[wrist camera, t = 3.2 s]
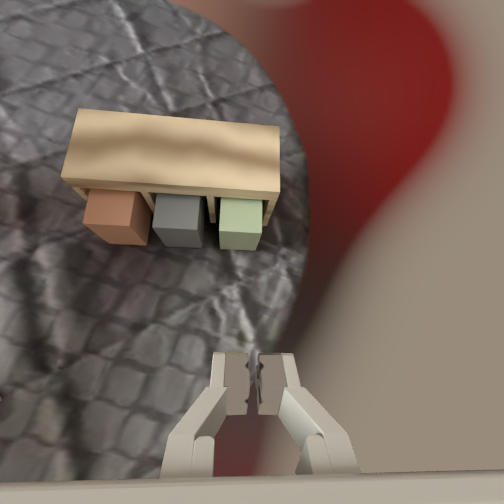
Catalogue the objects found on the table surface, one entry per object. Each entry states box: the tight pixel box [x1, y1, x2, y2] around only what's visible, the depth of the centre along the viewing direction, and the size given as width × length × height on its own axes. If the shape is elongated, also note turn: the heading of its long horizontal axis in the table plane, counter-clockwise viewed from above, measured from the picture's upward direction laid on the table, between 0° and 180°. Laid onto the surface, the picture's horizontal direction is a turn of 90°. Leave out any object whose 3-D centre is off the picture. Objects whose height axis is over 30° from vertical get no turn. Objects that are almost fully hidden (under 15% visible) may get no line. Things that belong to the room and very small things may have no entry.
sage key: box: [219, 197, 262, 251], centre depth 35 cm, size 7×5×7 cm
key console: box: [61, 109, 280, 226], centre depth 35 cm, size 9×23×10 cm, turn 89°
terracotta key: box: [82, 188, 152, 245], centre depth 34 cm, size 7×5×7 cm
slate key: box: [152, 193, 206, 248], centre depth 34 cm, size 7×5×7 cm
